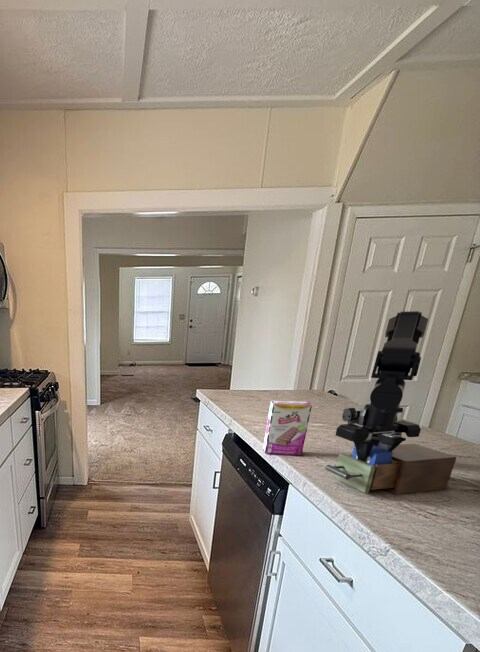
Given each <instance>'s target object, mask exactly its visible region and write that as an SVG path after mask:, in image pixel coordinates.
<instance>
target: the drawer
mask: <svg viewBox="0 0 480 652" xmlns="http://www.w3.org/2000/svg"><path fill="white" fill-rule="evenodd" d="M352 454H353V453H350V454H347V453H344V452H339V453H338V458H337V462H336V464H335V465H331V464H326V465H325V467H324V470H326V471H327V472H330V473H331V474H333V478H334V479H336V480H338V481H339V482H342V483H344V484H346V485H348V486H349V487H352V488H354V489H356V490H358V491H359V492H362V493H364V494H368V493H370V490H371V491H374V490H383V489H384V488H394V487H395V485H396V482H397V478H398V475H399V472H400V468H401V465H402V463H400V462H397V461H394V460H392V459H391V461H390V464H378V465H375V466H373V465H371V464H368V463H366V462H364V461H361V460H359V459H356V458H354V457H352ZM384 490H385V489H384Z"/></svg>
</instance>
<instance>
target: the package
mask: <svg viewBox="0 0 480 652" xmlns="http://www.w3.org/2000/svg"><path fill="white" fill-rule="evenodd" d="M351 454H352V457H354V458H356V459H358V458H357V452H356V447H355V444H354V446H353V449H352V453H351ZM392 454H393V452H390V451H388V450H385V449H382V448H379V447H376V446H373V448H372V449H371V451H370V453H369V455H368V457H367V459H366V461H365V462H366V463H368V464H371V465H373V466H375V465H378V464H390V461H391V458H392Z"/></svg>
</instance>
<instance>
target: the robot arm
mask: <svg viewBox="0 0 480 652" xmlns="http://www.w3.org/2000/svg"><path fill="white" fill-rule="evenodd" d="M422 312H423V311H419V310H416V311H415V310H412V311H405V310H404V311H400V312H397V314H396V315H395V316H392V317H391V318H389V319H388V322H387V326H386V329H385V333H384V334H385V335H384V338H387V339H386V342H384V343H383V346H382V348H381V350H378V351H377V354H376V358H375V361H374V365H373V369H372V372H371V376H370V378H371V379H377V380H376V381H375V383H374V387H373V389H372V391H371V392H370V395H369V401H370V403H365V405H364V407H363V409H362V410H356V408H355V407H347V408H344V409H343V411H342V414H341V415H342V416H341V417H342V421H343V422H347V424H346V423H345V424H340V425H338V426H337V427H336V431H335V436H336V437H338V438H341V439H344V440H347V441H350V442H353V444H354V445H355V447H356V452H357V458H358V459H359V460H361V461H364V462H365V461H366V459H367V457H368V455H369V453H370V451H371V449H372V448H373V446H378V447H379V448H382V449H385V450H388V451H390V452H392V451H393V450H394V449H395V448H396V447H397V446H398V445H401V444H402V442H405V441H407V438H418V437H420V434H421V431H422V428H421V427H420V425H419V424H417V423H415V422H410V421H406V420H398V418H399V417H398V414H399V413H404V407H400V405H401V402H402V400H403V396H404V391H405V388H406V381H413V378H414V377H417V375H418V373H419V368H420V365H421V361H422V357H421V356H420V355H421V353H420V352H419V351H417V348H418V345H419V342H420V339H423V338H424V335H425V333H426V329H427V325H428V322H429V318H428V317H426V316H424V315H423V313H422ZM403 433H404V434H405V435H406V437H407V438H406V437H403Z"/></svg>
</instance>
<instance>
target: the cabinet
mask: <svg viewBox="0 0 480 652" xmlns="http://www.w3.org/2000/svg"><path fill="white" fill-rule="evenodd" d="M376 447H378V446H376ZM392 452H393V454H392V458H391V459H392V460H394V461H397V462H400V463H402V465H401V468H400V472H399V475H398V478H397V482H396V485H395V487H394V488H384V490H386V491H388V492H390V493H393V494H394V495H401V494H402V495H403V494H411V493H421V492H423V493H424V492H432V491H443V490H447V487H448V484H449V481H450V478H451V475H452V472H453V470H454V468H455V464H456V461H457V458H458V457H457V456H455V455H452V454H449V453H445V452H443V451H439V450H436V449H433V448H430V447H427V446H424V445H420V444H417V443H403V444H402V443H400V444H399V445H398V446H397V447H396V448H395V449H394V450H393V451H392Z"/></svg>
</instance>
